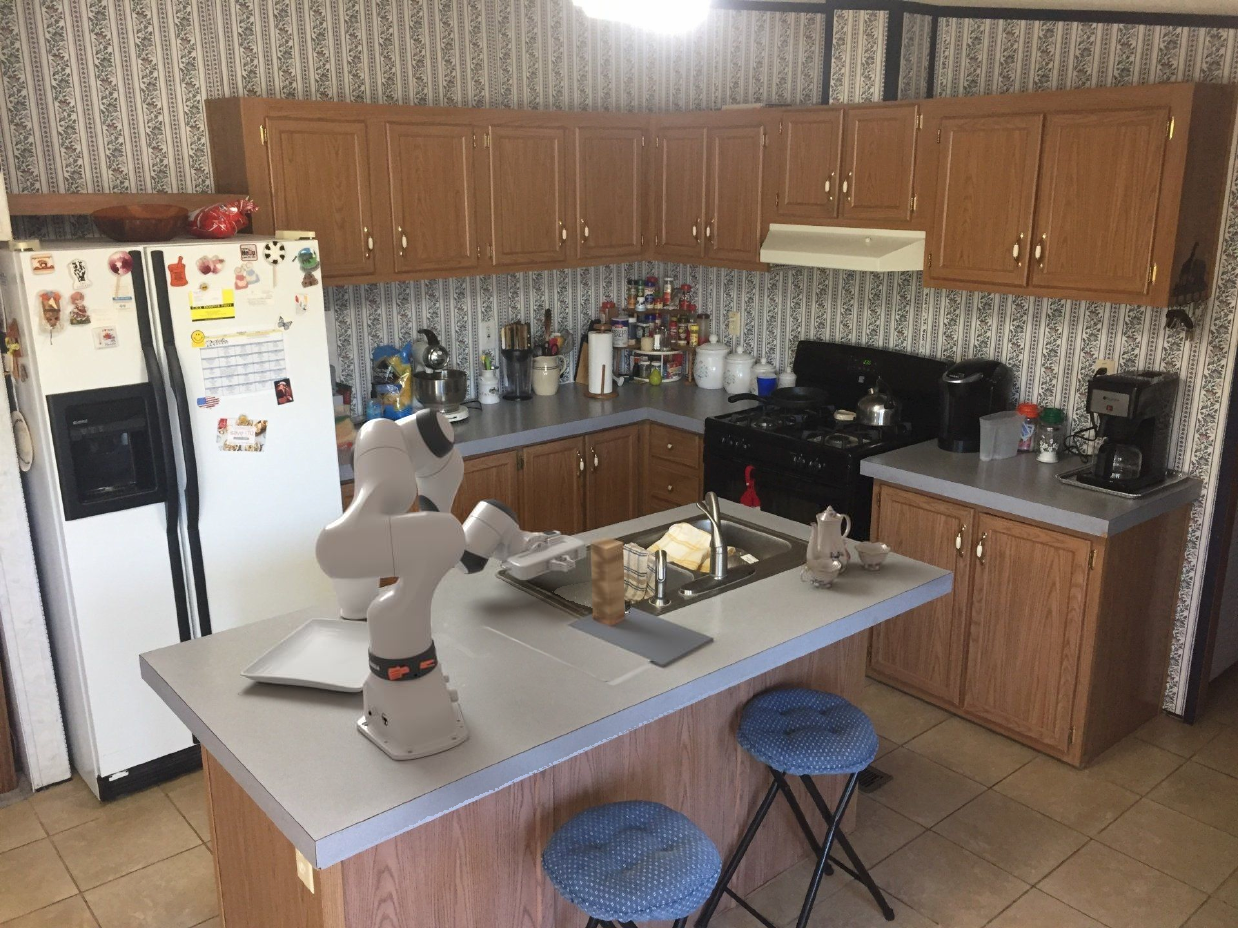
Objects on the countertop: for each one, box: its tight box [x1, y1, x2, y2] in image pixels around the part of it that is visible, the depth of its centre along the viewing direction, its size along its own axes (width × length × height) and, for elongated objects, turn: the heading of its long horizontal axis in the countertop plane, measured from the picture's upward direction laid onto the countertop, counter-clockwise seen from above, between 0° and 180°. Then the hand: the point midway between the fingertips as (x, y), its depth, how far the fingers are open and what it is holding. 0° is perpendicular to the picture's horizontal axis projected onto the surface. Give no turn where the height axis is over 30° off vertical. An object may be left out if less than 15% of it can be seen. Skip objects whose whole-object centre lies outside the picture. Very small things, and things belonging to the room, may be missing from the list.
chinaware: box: [799, 505, 892, 589], centre depth 247 cm, size 28×17×17 cm, turn 131°
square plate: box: [239, 617, 370, 693], centre depth 209 cm, size 27×27×4 cm
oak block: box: [590, 537, 626, 626], centre depth 222 cm, size 5×5×18 cm
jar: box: [331, 578, 381, 621], centre depth 231 cm, size 11×10×15 cm
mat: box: [567, 606, 714, 668], centre depth 219 cm, size 28×16×1 cm, turn 46°
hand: (570, 566), depth 230 cm, fingers closed
